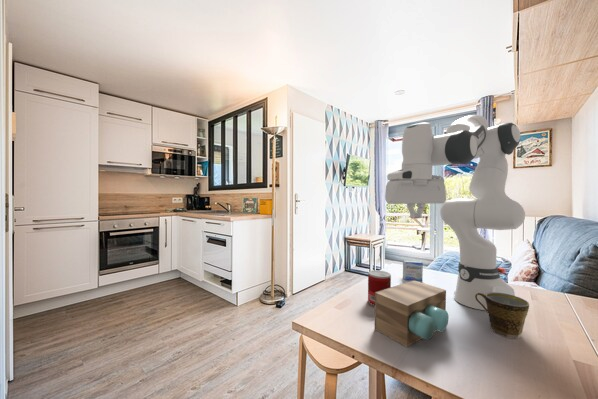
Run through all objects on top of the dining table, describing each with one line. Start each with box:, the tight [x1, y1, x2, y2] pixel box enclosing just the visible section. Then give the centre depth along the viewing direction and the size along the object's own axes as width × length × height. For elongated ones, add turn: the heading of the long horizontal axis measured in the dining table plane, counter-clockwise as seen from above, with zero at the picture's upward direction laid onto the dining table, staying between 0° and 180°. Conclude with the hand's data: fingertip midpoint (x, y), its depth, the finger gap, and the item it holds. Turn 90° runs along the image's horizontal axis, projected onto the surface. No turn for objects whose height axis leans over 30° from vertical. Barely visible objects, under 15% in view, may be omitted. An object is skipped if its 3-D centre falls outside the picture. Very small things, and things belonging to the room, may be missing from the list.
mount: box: [374, 280, 447, 348], centre depth 74 cm, size 20×15×11 cm
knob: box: [424, 305, 450, 333], centre depth 74 cm, size 6×14×6 cm, turn 34°
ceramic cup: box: [475, 292, 530, 340], centre depth 75 cm, size 13×10×10 cm
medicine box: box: [402, 259, 424, 282], centre depth 120 cm, size 8×4×9 cm, turn 81°
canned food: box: [367, 270, 392, 306], centre depth 93 cm, size 8×8×11 cm
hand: (415, 218), depth 80 cm, fingers closed
